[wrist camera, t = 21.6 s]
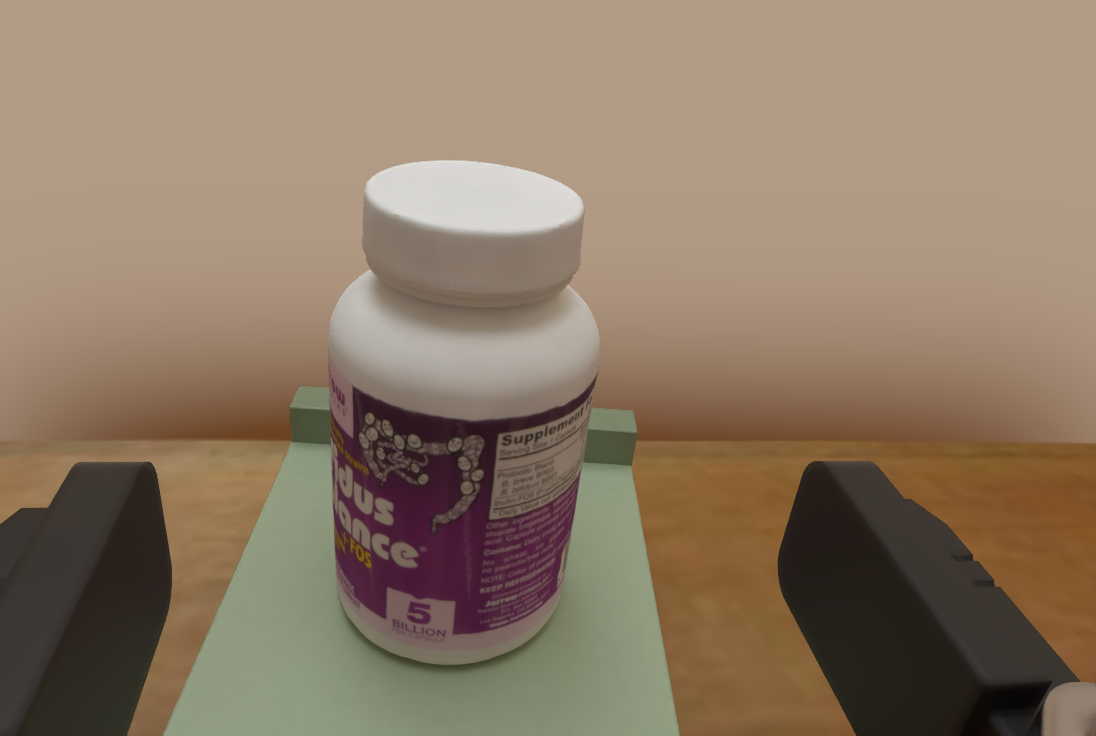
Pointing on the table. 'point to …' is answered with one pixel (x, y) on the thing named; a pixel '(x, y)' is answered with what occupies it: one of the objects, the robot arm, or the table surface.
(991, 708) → the robot arm
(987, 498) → the table surface
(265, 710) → the sage green square box
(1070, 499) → the table surface
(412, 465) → the pill bottle
